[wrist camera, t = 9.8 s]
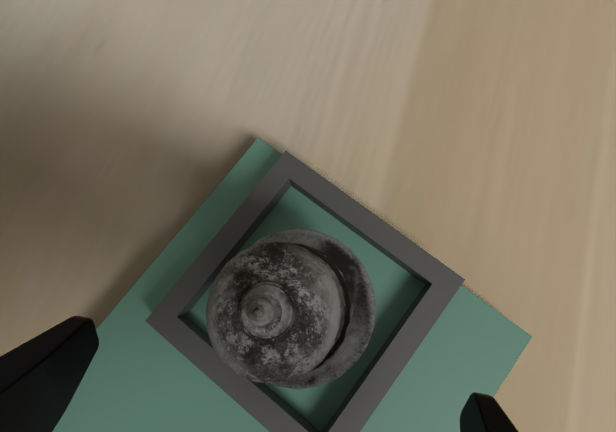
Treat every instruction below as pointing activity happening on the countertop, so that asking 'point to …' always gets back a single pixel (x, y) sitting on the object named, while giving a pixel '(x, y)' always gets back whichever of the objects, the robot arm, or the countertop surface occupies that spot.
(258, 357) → the weathered stone pawn
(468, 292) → the socket board
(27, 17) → the countertop surface
